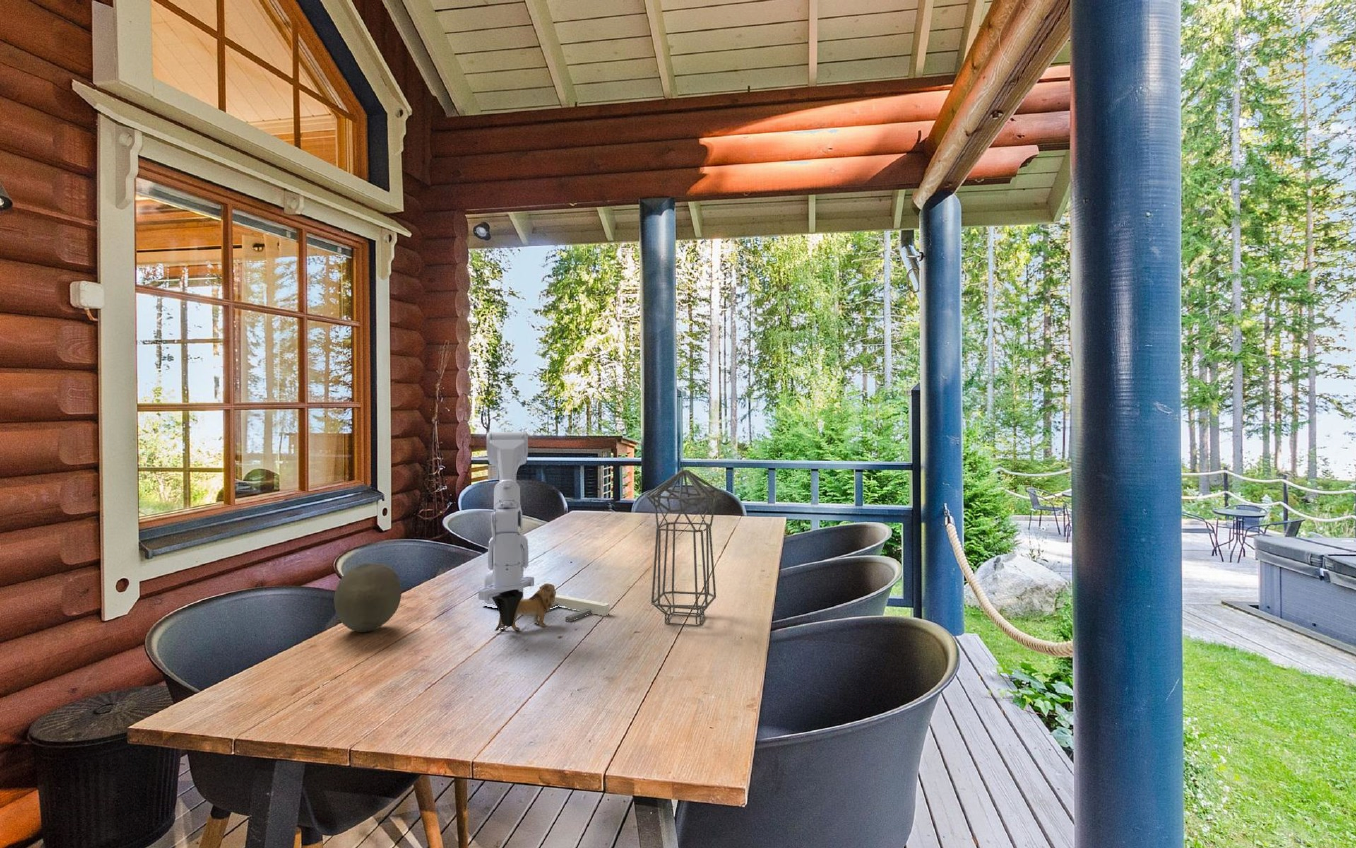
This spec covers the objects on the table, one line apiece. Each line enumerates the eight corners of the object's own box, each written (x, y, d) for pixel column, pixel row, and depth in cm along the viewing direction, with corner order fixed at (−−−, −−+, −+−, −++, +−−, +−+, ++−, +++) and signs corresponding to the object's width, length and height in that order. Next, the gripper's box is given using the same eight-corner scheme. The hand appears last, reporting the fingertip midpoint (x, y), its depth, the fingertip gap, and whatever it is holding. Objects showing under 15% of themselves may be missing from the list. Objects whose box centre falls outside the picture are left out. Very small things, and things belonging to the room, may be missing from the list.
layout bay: (520, 611, 162) (520, 601, 162) (547, 602, 170) (547, 592, 170) (584, 624, 152) (583, 613, 152) (609, 614, 160) (609, 603, 160)
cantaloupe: (318, 638, 143) (317, 569, 143) (366, 619, 157) (366, 556, 157) (371, 644, 139) (371, 573, 139) (417, 624, 152) (416, 559, 152)
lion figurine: (550, 618, 157) (549, 580, 157) (560, 623, 153) (560, 584, 153) (490, 630, 148) (489, 590, 148) (499, 636, 144) (499, 595, 144)
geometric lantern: (643, 628, 149) (642, 472, 149) (661, 608, 165) (660, 467, 164) (712, 632, 146) (711, 473, 145) (724, 612, 161) (723, 467, 161)
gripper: (494, 572, 137) (495, 637, 137) (544, 559, 149) (544, 619, 149) (471, 568, 141) (471, 632, 141) (521, 556, 153) (521, 615, 153)
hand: (507, 625), depth 145 cm, fingers closed
